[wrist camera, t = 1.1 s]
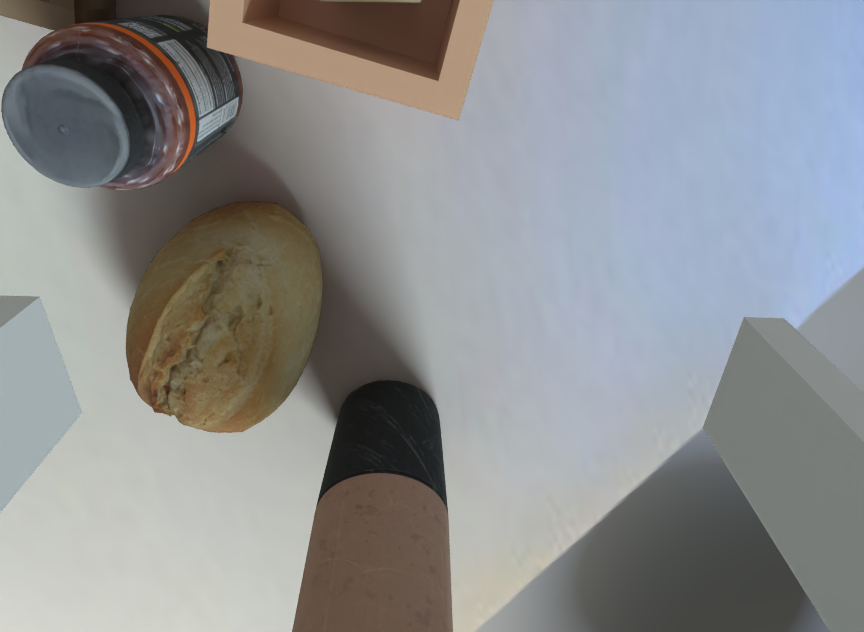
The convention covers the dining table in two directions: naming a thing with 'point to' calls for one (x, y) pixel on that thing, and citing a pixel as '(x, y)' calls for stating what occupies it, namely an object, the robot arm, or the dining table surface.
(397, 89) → the light wooden box
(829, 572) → the robot arm
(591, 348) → the dining table surface
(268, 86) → the dining table surface
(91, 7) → the walnut bin
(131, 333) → the bread roll
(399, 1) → the maple cube
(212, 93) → the supplement bottle
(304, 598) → the travel mug
